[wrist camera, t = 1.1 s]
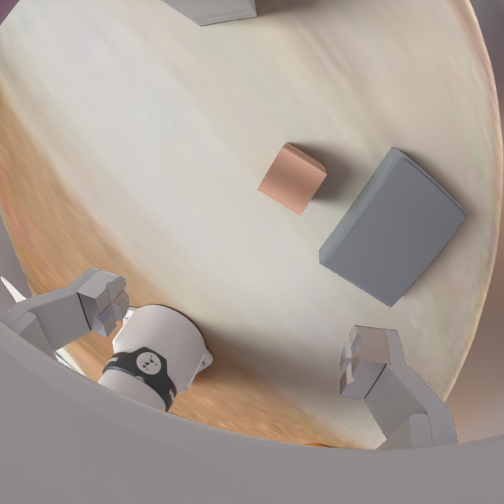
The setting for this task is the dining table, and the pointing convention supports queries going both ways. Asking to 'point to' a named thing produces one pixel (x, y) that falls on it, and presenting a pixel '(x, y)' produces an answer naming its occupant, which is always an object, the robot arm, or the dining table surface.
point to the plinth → (392, 230)
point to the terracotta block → (293, 178)
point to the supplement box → (214, 10)
